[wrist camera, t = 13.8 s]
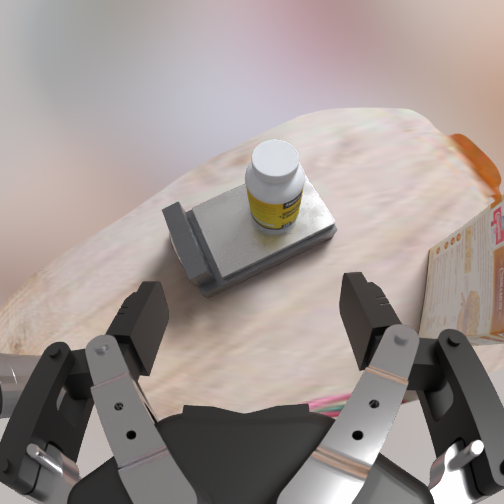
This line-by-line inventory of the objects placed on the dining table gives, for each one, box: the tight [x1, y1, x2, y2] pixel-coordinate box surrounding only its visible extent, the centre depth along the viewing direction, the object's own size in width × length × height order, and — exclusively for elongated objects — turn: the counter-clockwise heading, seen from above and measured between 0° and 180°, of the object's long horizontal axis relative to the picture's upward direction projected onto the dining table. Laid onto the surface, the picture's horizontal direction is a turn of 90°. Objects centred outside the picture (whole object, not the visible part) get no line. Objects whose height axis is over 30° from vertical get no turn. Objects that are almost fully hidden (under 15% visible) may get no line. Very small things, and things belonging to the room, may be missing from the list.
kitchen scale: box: [162, 201, 337, 298], centre depth 37 cm, size 21×12×8 cm, turn 116°
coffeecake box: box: [418, 194, 504, 346], centre depth 26 cm, size 15×7×20 cm, turn 163°
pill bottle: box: [245, 140, 305, 230], centre depth 31 cm, size 6×6×12 cm
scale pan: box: [192, 175, 336, 279], centre depth 37 cm, size 16×11×1 cm, turn 116°
